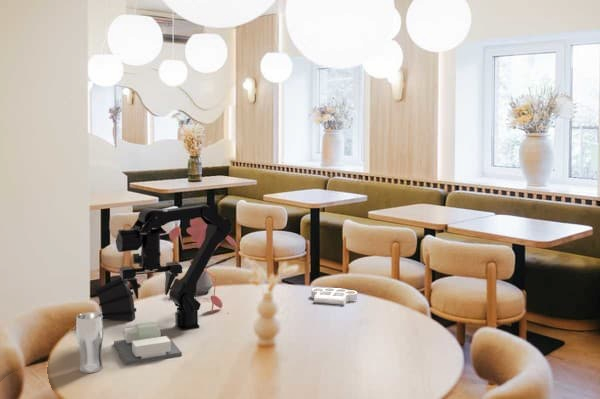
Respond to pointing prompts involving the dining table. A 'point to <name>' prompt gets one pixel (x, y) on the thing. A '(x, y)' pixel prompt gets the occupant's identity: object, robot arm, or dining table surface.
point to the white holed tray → (333, 295)
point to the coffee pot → (207, 278)
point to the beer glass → (90, 341)
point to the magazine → (116, 300)
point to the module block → (146, 330)
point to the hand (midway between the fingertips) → (151, 296)
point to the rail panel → (134, 359)
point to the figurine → (198, 236)
